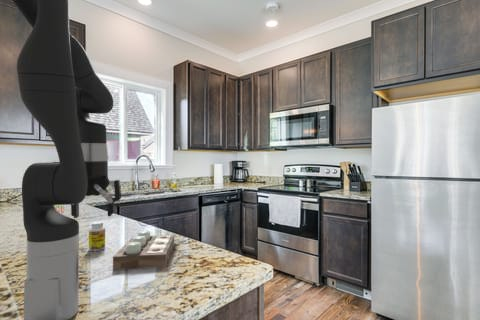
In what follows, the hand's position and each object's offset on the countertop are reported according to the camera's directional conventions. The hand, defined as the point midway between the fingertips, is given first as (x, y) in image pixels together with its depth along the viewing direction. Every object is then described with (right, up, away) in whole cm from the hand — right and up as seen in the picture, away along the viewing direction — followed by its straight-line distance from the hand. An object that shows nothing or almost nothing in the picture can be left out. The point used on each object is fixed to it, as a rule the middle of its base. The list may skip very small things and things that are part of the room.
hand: (93, 216), depth 74 cm
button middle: (+6, -16, +19) cm, 25 cm away
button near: (+7, -16, +12) cm, 21 cm away
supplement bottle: (-14, -19, +27) cm, 35 cm away
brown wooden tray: (+9, -18, +20) cm, 28 cm away
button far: (+5, -16, +27) cm, 31 cm away
